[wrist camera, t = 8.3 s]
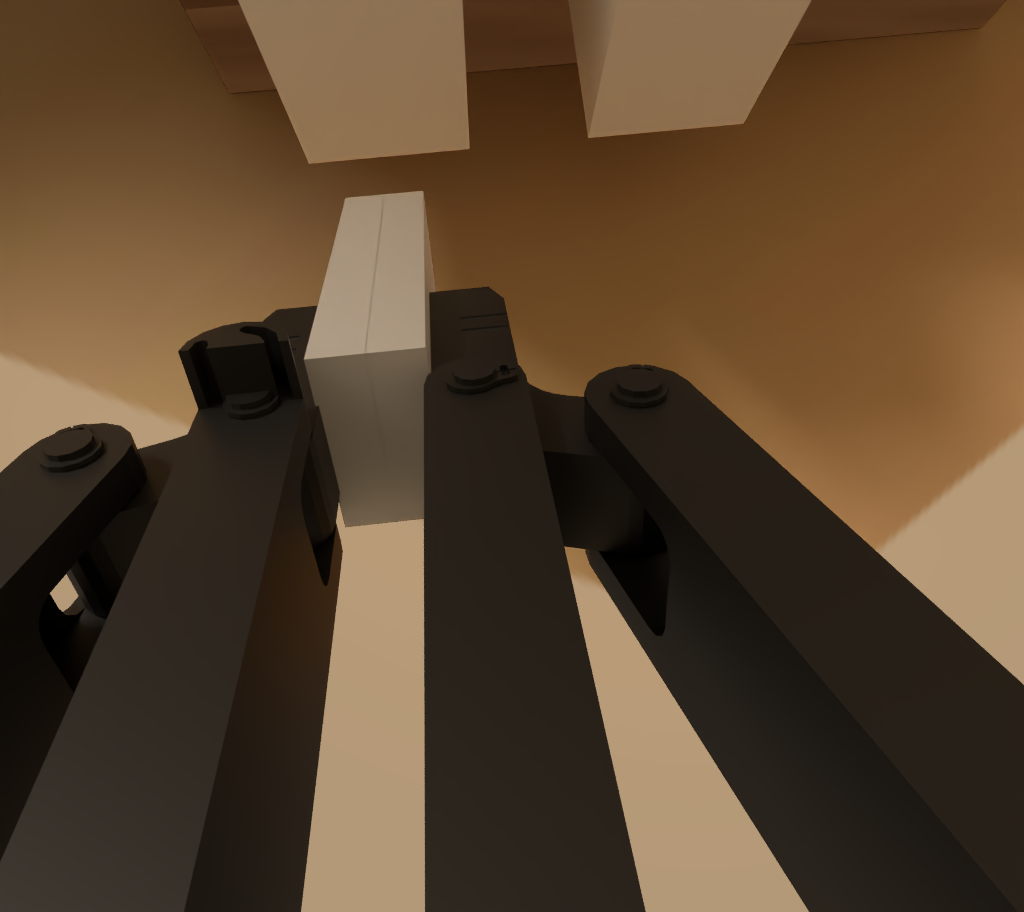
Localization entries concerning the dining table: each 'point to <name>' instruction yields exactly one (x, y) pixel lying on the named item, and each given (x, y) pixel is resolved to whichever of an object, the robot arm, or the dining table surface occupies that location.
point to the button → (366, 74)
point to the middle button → (676, 60)
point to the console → (549, 35)
